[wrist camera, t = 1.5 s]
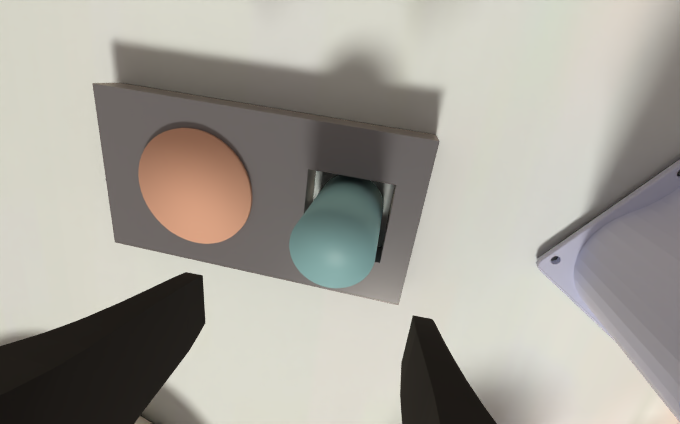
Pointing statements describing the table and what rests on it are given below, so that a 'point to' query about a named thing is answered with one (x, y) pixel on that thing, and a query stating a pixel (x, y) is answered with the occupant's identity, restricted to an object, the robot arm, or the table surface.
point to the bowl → (142, 421)
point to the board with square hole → (265, 178)
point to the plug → (339, 233)
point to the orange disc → (195, 185)
